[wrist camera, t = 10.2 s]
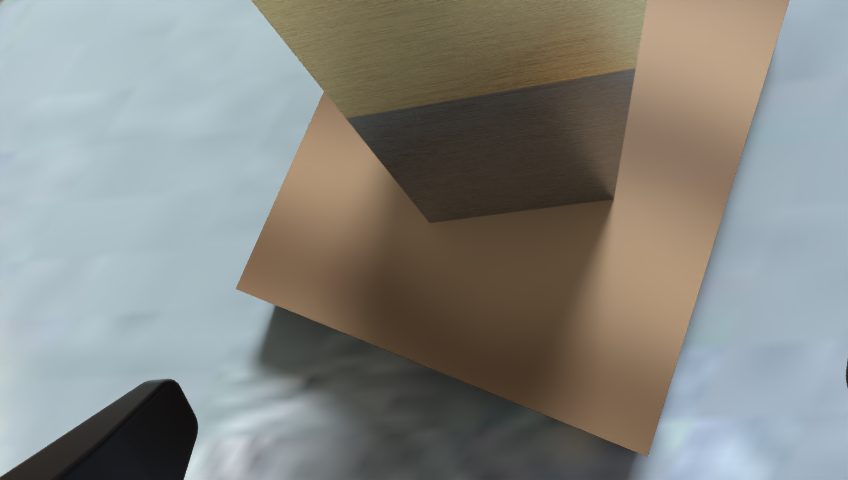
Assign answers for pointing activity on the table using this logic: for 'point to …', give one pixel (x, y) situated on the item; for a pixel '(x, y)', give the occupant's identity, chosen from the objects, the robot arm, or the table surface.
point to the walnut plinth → (538, 240)
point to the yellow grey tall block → (477, 93)
